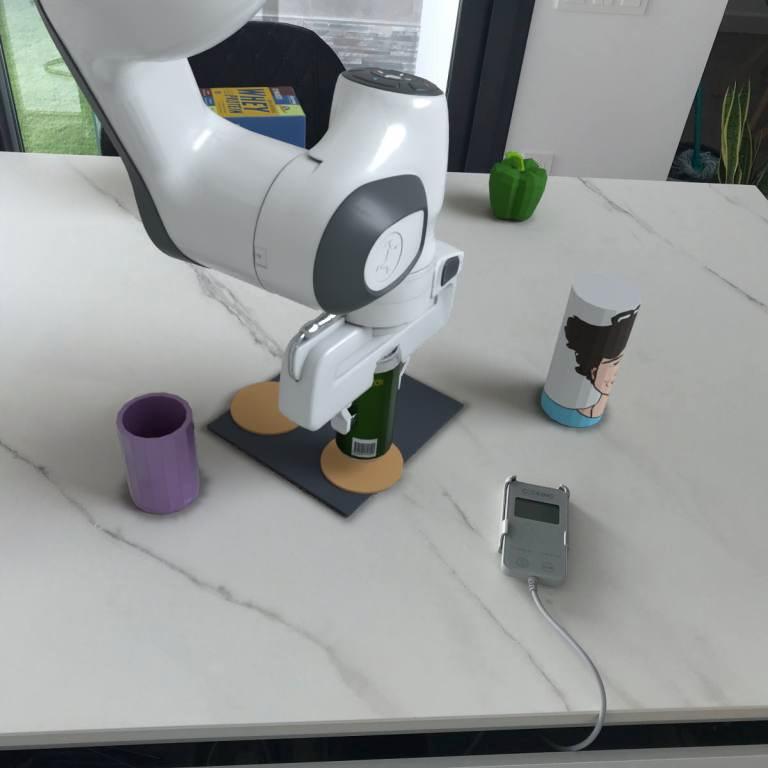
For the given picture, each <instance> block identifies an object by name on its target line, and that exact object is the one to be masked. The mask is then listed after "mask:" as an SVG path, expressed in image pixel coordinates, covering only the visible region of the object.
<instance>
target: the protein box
mask: <svg viewBox="0 0 768 768" xmlns="http://www.w3.org/2000/svg"><path fill="white" fill-rule="evenodd" d="M198 88H199V87H198ZM199 91H200V93H201V96H202V99H203V101H204V103H205V104H206V105H207V107H208V108H210V109H211V110H212V111H213V112H215V113H216V114H218V115H219V116H221V117H222V118H224V119H226V120H228V121H230V122H232V123H234V124H236V125H238V126H240V127H243V128H245V129H247V130H250V131H252V132H255V133H258V134H261V135H264V136H267V137H270V138H273V139H276V140H279V141H283V142H286V143H289V144H292V145H295V146H298V147H301V148H304V149H306V121H307V120H306V119H307V118H306V117H307V116H306V114H305V111H304V110H303V107H302V106H301V104H300V101H299V100H298V97H297V96H296V93H295V91H294V88H293V87H292V86H258V87H257V86H253V87H252V86H250V87H210V88H209V87H207V88H205V87H204V88H199Z"/></svg>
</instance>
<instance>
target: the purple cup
mask: <svg viewBox="0 0 768 768" xmlns="http://www.w3.org/2000/svg"><path fill="white" fill-rule="evenodd" d="M115 426H116V427H115V428H116V432H117V436H118V442H119V447H120V452H121V457H122V462H123V466H124V471H125V477H126V482H127V486H128V491H129V495H130V498H131V500H132V502H133V503H134V506H136V507H137V508H138V509H140V510H142V511H144V512H146V513H148V514H153V515H166V514H167V515H169V514H173V513H176V512H179V511H180V510H184V509H185V508H186V507H188V506H190V505H191V504H192V503H193V502H194V501H195V500H196V498H197V497H198V495H199V493H200V490H201V475H200V465H199V456H198V447H197V439H196V438H197V437H196V427H195V420H194V412H193V409H192V407H191V405H190V404H189V402H188V400H186V399H184V398H183V397H182V396H180V395H178V394H173V393H169V392H163V391H161V392H147V393H144V394H142V395H138V396H135V397H134V398H132V399H130V400H128V401H127V402H125V403H124V404H123V405H122V407H121V408H120V409H119V410H118V411H117V414H116V419H115Z"/></svg>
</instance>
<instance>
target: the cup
mask: <svg viewBox="0 0 768 768" xmlns="http://www.w3.org/2000/svg"><path fill="white" fill-rule="evenodd" d="M643 298H644V297H643V293H642V291H641V290H640V288H638V287H637V285H635V283H634V282H631V281H630V280H629V279H626V278H624V277H622V276H619V275H617V274H613V273H609V272H603V271H591V272H586V273H585V272H584V273H581V274H580V275H578V276H577V277H575V278H574V280H573V282H572V284H571V288H570V290H569V295H568V298H567V302H566V306H565V309H564V314H563V317H562V321H561V324H560V328H559V331H558V335H557V339H556V342H555V346H554V350H553V353H552V357H551V361H550V365H549V368H548V371H547V376H546V379H545V381H544V386H543V390H542V393H541V398H540V405H541V408H542V410H543V411H544V414H546V415H547V416H548V417H549V418H550V419H552V420H553V421H555V422H556V423H559V424H561V425H564V426H567V427H572V428H588V427H590V426H594V425H596V424H597V423H598V422H599V421H600V420H601V418H602V416H603V413H604V410H605V407H606V406H607V405H606V404H607V402H608V399H609V396H610V393H611V391H612V387H613V384H614V382H615V379H616V376H617V373H618V370H619V368H620V366H621V365H620V364H621V362H622V359H623V356H624V353H625V350H626V347H627V344H628V343H629V338H630V335H631V334H632V330H633V328H634V324H635V322H636V319H637V316H638V313H639V310H640V307H641V304H642V301H643Z"/></svg>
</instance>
